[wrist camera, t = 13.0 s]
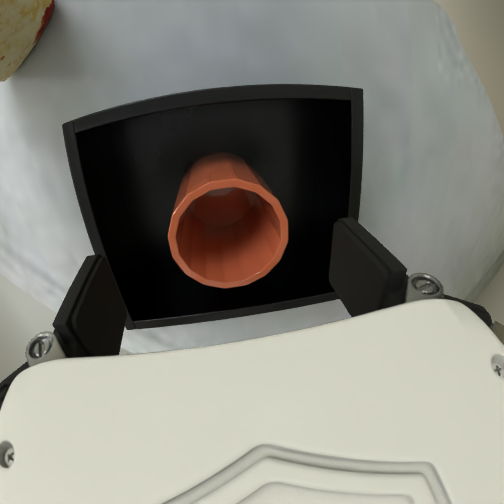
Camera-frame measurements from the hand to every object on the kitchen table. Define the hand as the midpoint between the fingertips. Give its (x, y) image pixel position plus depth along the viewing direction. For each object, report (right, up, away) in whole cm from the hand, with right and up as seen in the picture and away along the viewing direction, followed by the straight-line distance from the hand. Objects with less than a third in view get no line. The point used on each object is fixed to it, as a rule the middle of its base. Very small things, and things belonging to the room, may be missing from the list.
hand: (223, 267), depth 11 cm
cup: (-1, +5, +10) cm, 11 cm away
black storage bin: (-1, +6, +10) cm, 12 cm away
